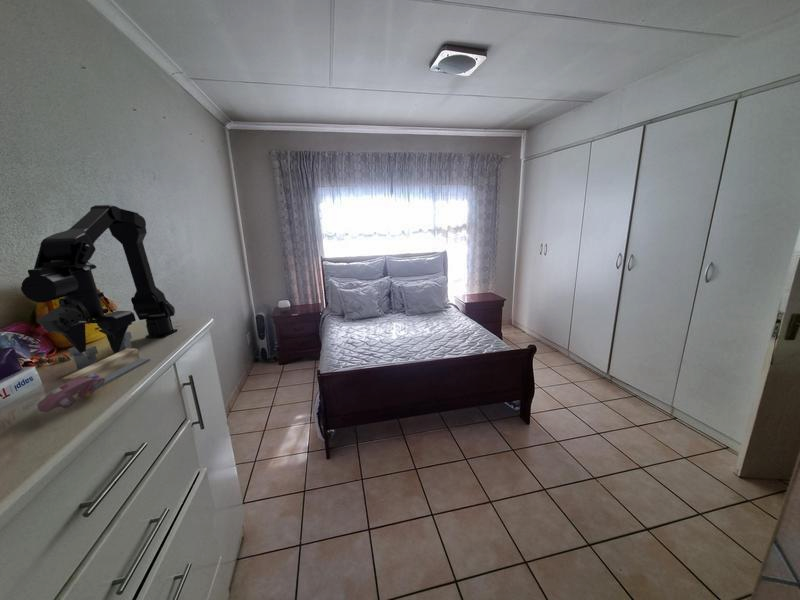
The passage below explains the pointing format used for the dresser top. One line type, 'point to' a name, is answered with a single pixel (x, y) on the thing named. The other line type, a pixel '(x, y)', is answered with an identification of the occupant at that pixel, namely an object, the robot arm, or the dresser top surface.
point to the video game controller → (71, 392)
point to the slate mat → (123, 370)
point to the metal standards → (90, 353)
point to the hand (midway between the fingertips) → (99, 352)
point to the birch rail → (106, 365)
